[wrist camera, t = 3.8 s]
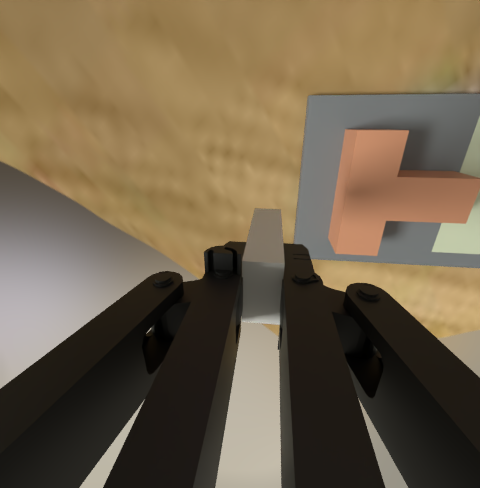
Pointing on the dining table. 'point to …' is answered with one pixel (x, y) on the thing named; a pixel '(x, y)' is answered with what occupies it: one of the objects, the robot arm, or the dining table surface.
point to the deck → (414, 158)
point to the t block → (390, 191)
